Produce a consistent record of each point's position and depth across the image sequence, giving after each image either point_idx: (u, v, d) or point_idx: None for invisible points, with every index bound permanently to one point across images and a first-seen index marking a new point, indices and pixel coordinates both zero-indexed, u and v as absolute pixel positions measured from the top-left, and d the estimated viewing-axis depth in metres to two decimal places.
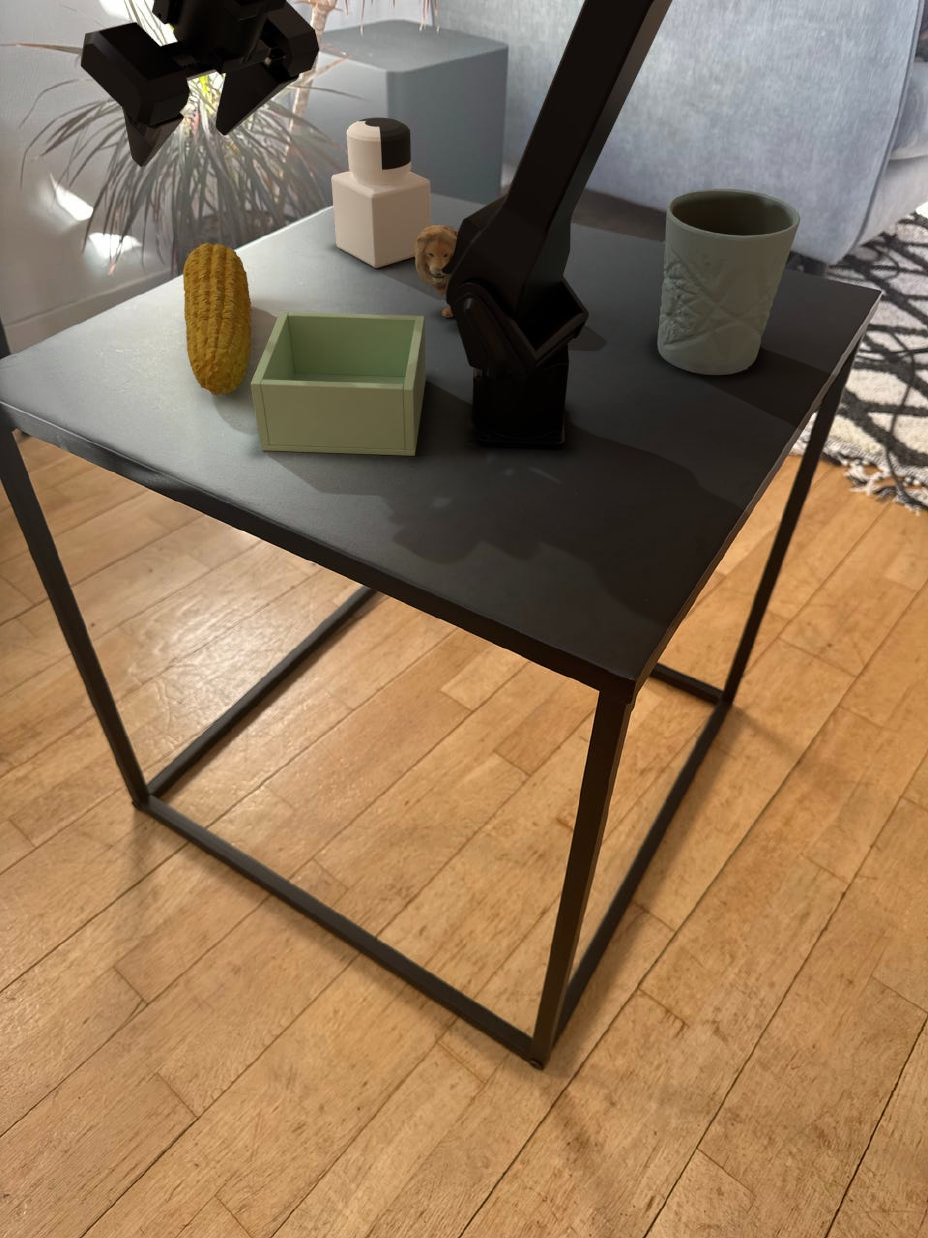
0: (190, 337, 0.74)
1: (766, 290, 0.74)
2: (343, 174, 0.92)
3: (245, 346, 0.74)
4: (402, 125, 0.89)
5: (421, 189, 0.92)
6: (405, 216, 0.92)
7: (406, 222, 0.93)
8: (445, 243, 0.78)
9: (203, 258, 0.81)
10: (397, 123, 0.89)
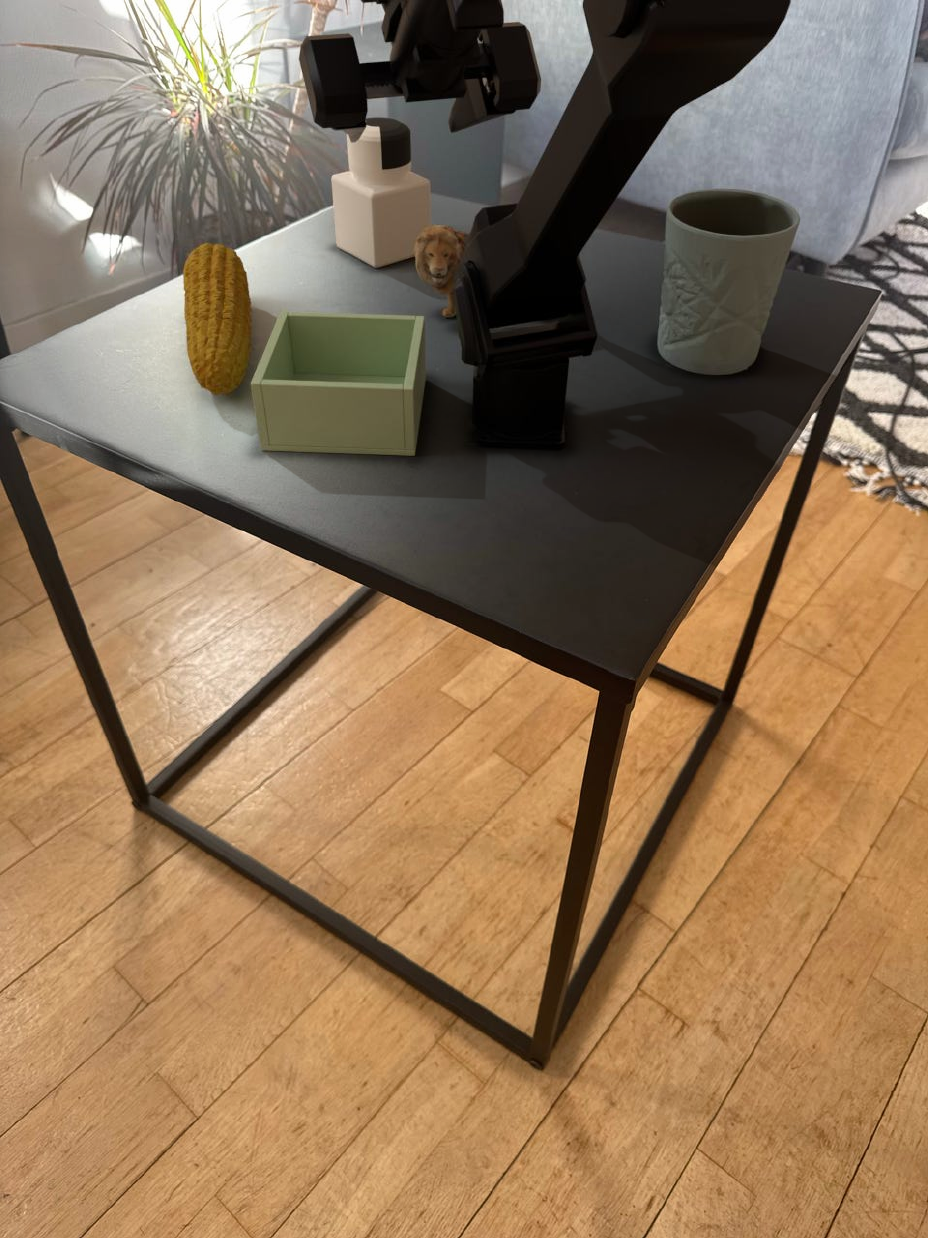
0: (190, 337, 0.74)
1: (766, 290, 0.74)
2: (343, 174, 0.92)
3: (245, 346, 0.74)
4: (402, 125, 0.89)
5: (421, 189, 0.92)
6: (405, 216, 0.92)
7: (406, 222, 0.93)
8: (445, 243, 0.78)
9: (203, 258, 0.81)
10: (397, 123, 0.89)
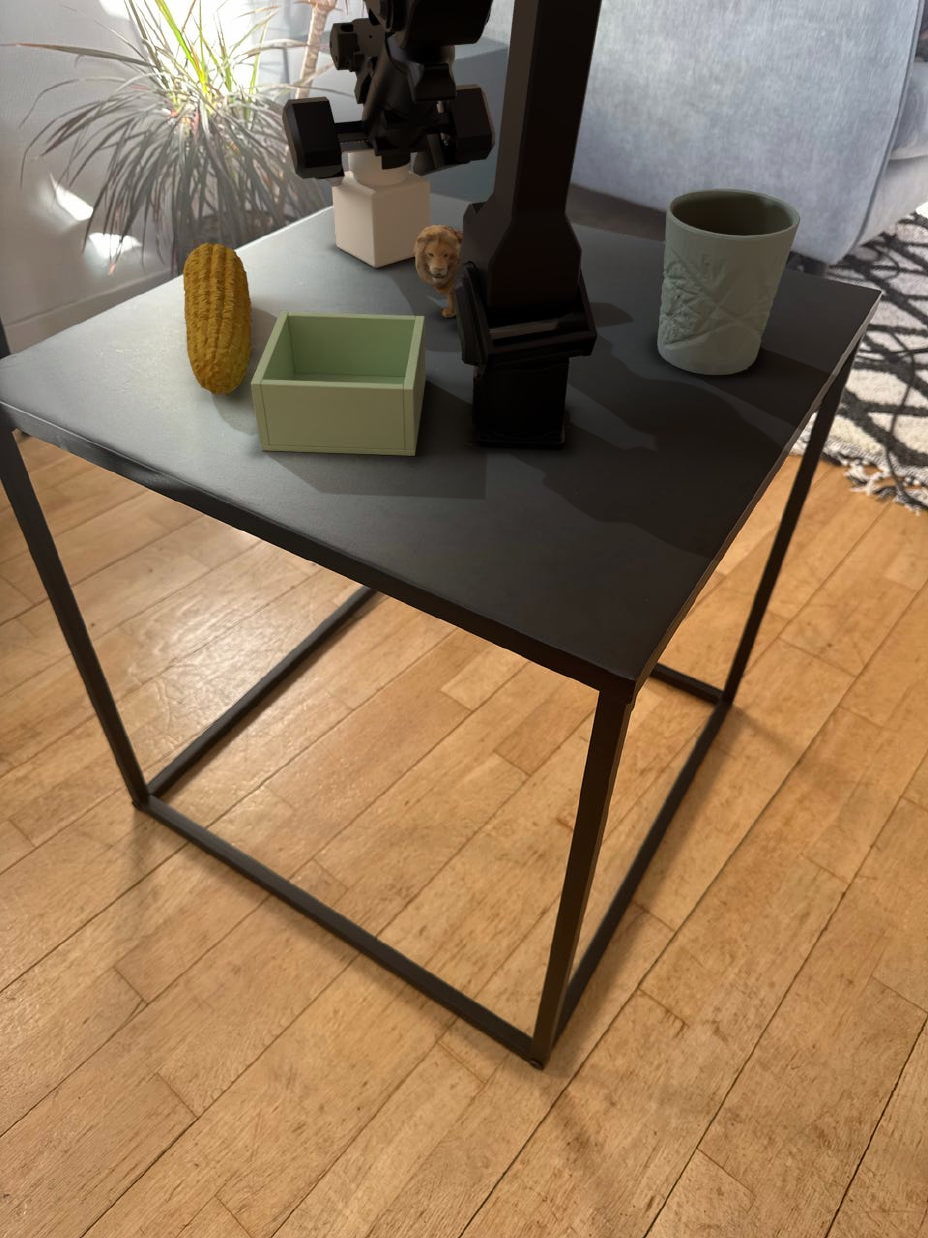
0: (190, 337, 0.74)
1: (766, 290, 0.74)
2: None
3: (245, 346, 0.74)
4: None
5: (421, 189, 0.92)
6: (405, 216, 0.92)
7: (406, 222, 0.93)
8: (445, 243, 0.78)
9: (203, 258, 0.81)
10: None
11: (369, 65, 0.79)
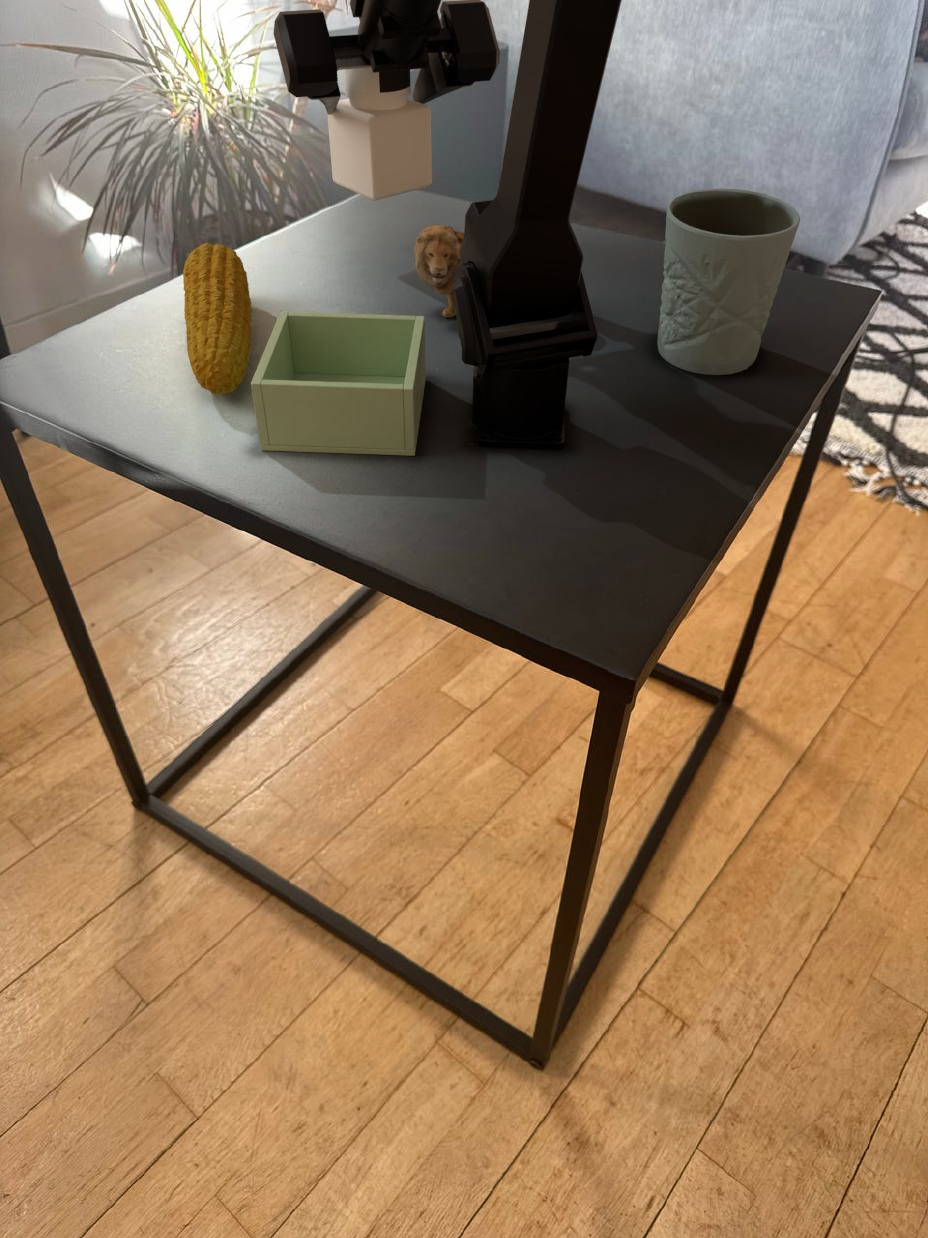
0: (190, 337, 0.74)
1: (766, 290, 0.74)
2: (339, 101, 0.87)
3: (245, 346, 0.75)
4: None
5: (421, 115, 0.87)
6: (405, 144, 0.87)
7: (406, 151, 0.88)
8: (445, 243, 0.78)
9: (203, 258, 0.81)
10: None
11: None
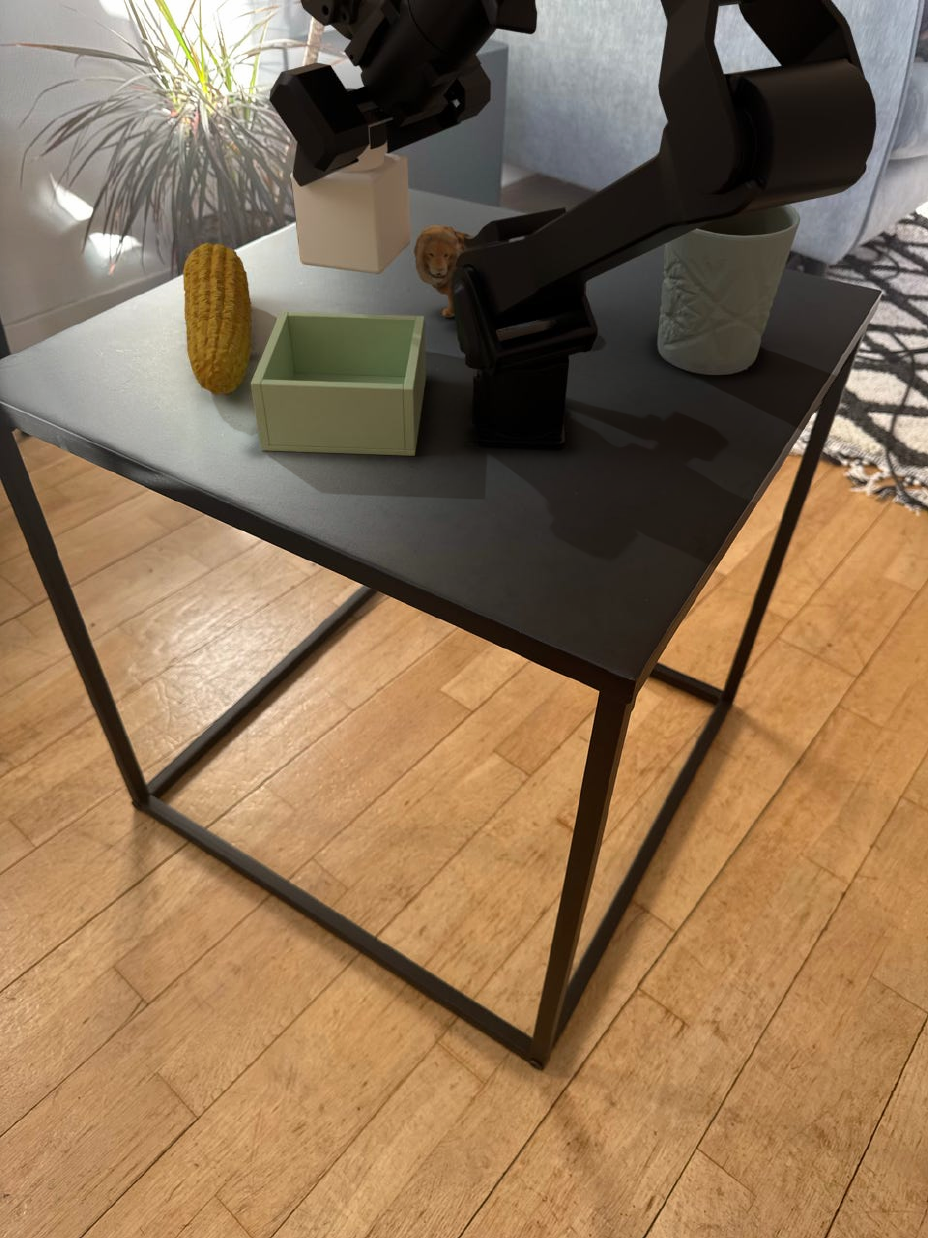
0: (190, 337, 0.74)
1: (766, 290, 0.74)
2: None
3: (245, 346, 0.75)
4: None
5: (403, 167, 0.75)
6: (395, 203, 0.75)
7: (396, 211, 0.75)
8: (445, 243, 0.78)
9: (203, 258, 0.81)
10: None
11: (386, 8, 0.62)
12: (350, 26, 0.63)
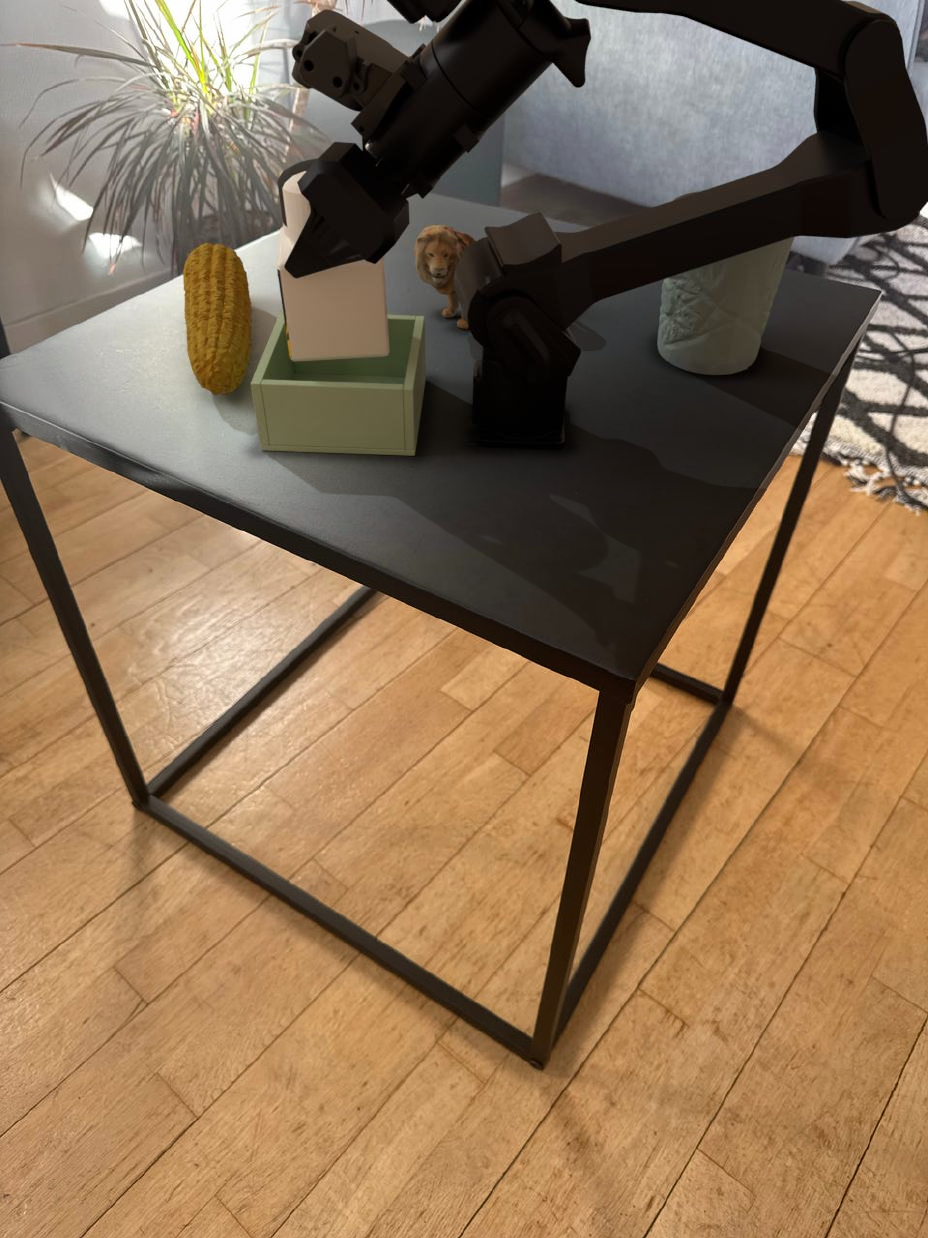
0: (190, 337, 0.74)
1: (766, 290, 0.74)
2: None
3: (245, 346, 0.75)
4: None
5: None
6: None
7: None
8: (445, 243, 0.78)
9: (203, 258, 0.81)
10: None
11: (408, 73, 0.55)
12: (359, 96, 0.56)
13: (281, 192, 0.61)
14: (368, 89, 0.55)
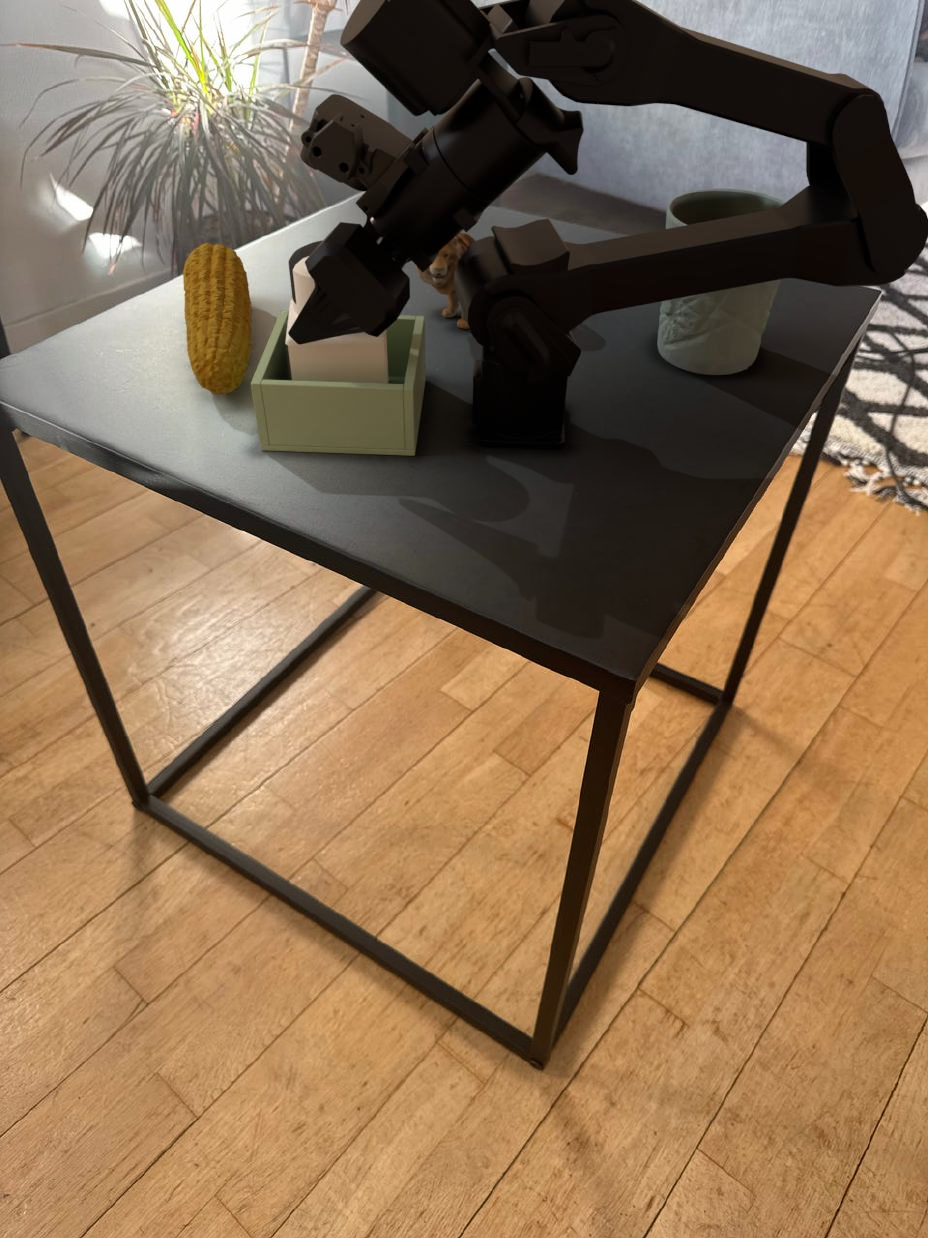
0: (190, 337, 0.74)
1: (766, 290, 0.74)
2: None
3: (245, 346, 0.74)
4: None
5: None
6: None
7: None
8: None
9: (203, 258, 0.81)
10: None
11: (411, 159, 0.58)
12: (364, 178, 0.59)
13: (291, 273, 0.65)
14: (372, 172, 0.59)
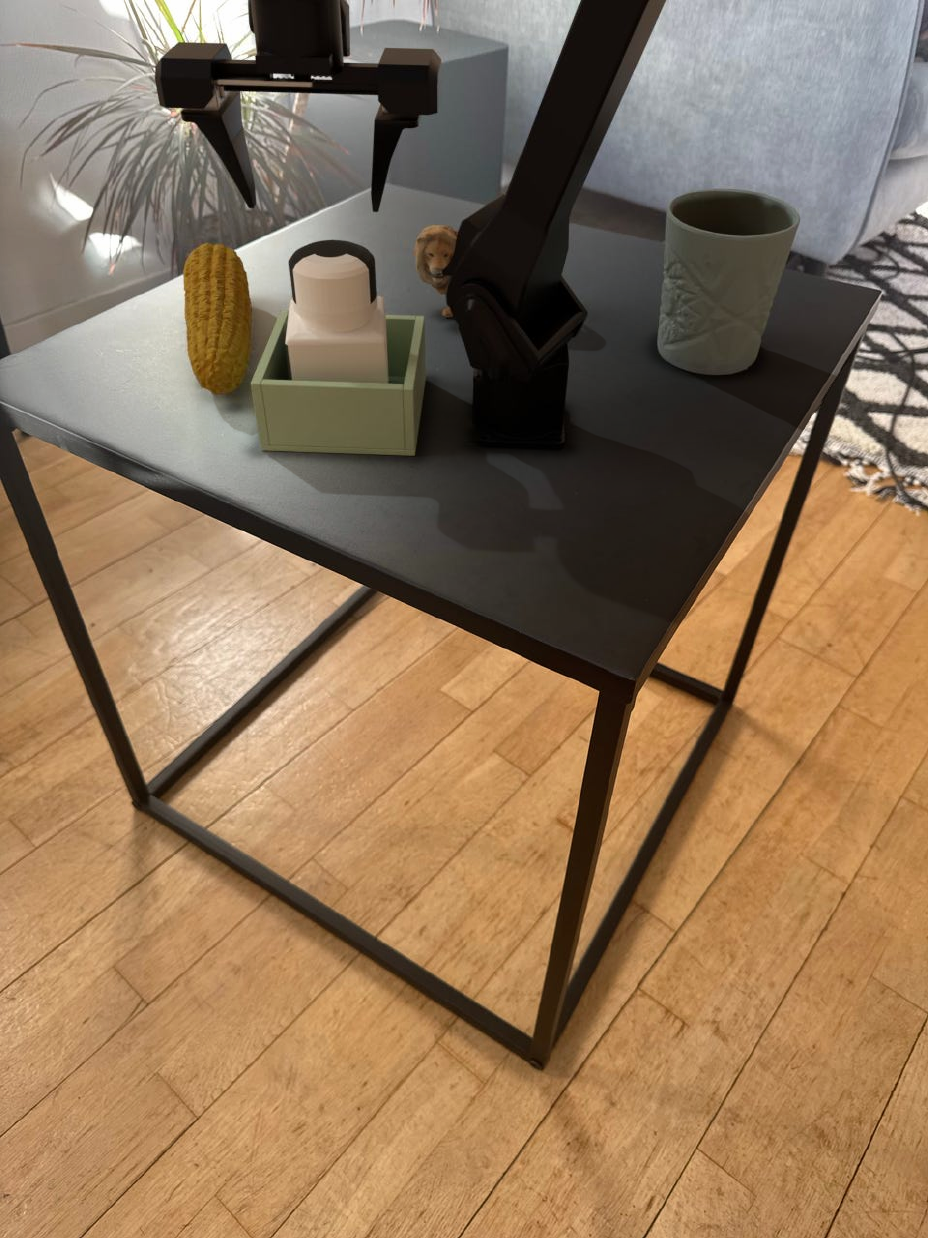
0: (190, 337, 0.74)
1: (766, 290, 0.74)
2: (300, 332, 0.67)
3: (245, 346, 0.75)
4: None
5: None
6: None
7: None
8: (445, 243, 0.78)
9: (203, 258, 0.81)
10: (346, 242, 0.67)
11: None
12: None
13: (291, 273, 0.65)
14: None
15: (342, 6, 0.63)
